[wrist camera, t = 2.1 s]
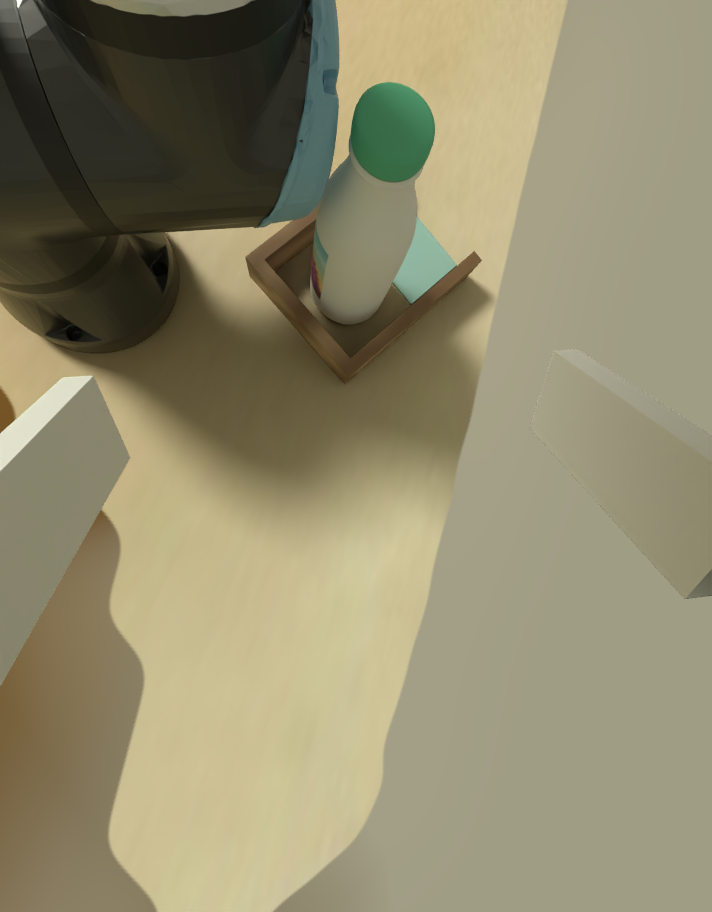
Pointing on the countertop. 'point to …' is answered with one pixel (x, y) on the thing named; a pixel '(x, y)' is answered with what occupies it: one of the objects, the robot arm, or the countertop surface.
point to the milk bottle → (370, 204)
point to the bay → (263, 273)
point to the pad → (422, 265)
